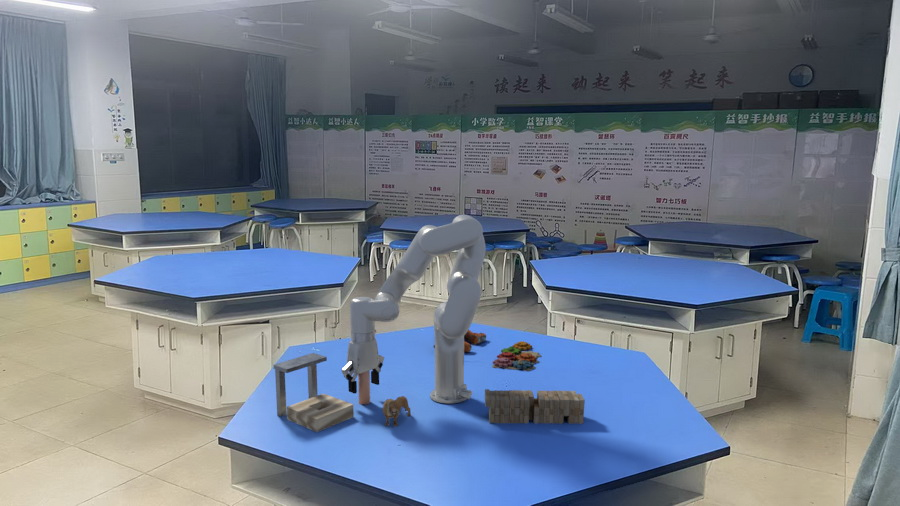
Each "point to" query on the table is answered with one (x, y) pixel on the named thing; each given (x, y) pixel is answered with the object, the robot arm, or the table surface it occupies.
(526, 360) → the gear puzzle
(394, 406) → the lion figurine
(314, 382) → the grey piece
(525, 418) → the block tower
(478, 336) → the camel toy
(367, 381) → the peg
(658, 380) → the table surface
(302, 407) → the socket block
